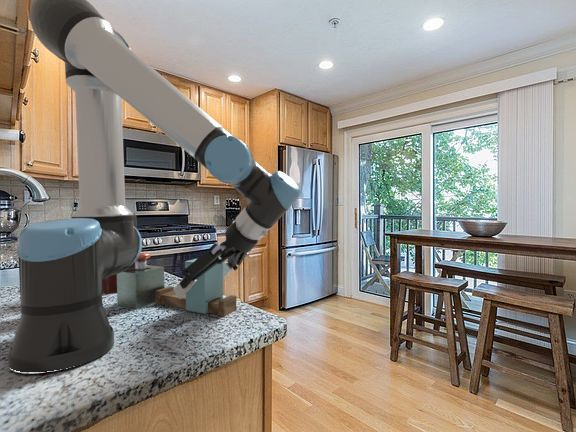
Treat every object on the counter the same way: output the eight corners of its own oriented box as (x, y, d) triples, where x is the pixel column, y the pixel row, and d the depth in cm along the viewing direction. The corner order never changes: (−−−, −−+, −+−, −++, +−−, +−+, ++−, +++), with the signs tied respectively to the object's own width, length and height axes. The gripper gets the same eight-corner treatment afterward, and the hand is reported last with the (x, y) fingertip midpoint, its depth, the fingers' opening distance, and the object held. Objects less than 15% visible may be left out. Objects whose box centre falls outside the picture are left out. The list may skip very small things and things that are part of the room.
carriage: (223, 305, 81) (222, 258, 80) (205, 314, 75) (204, 263, 74) (204, 302, 83) (204, 257, 83) (185, 310, 77) (184, 261, 77)
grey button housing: (164, 299, 87) (163, 266, 86) (136, 309, 79) (135, 273, 78) (146, 296, 90) (145, 264, 89) (117, 305, 82) (116, 271, 81)
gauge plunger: (143, 280, 81) (143, 255, 81) (127, 279, 82) (127, 255, 82) (154, 276, 86) (153, 252, 86) (139, 275, 87) (138, 252, 86)
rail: (236, 309, 78) (236, 295, 78) (224, 316, 73) (223, 301, 73) (170, 298, 87) (169, 286, 87) (155, 304, 83) (155, 290, 83)
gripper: (224, 249, 60) (167, 314, 67) (281, 236, 83) (234, 286, 90) (202, 220, 63) (149, 287, 69) (264, 216, 85) (219, 266, 92)
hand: (197, 287), depth 80 cm, fingers open, 13 cm apart
